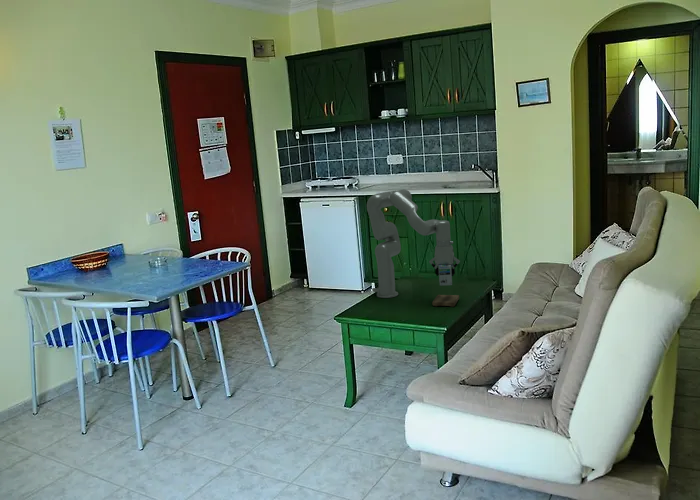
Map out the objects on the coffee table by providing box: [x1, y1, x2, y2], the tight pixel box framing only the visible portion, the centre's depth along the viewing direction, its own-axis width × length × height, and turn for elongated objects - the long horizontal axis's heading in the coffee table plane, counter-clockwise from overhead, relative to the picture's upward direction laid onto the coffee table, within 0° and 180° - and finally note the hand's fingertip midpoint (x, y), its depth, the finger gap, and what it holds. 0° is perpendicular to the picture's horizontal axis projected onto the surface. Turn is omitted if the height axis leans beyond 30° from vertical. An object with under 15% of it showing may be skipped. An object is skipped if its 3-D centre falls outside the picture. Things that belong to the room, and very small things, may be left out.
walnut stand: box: [431, 294, 460, 308], centre depth 333 cm, size 12×15×2 cm
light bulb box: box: [438, 265, 453, 286], centre depth 330 cm, size 11×7×11 cm, turn 174°
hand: (445, 275), depth 330 cm, fingers closed on light bulb box, 7 cm apart
